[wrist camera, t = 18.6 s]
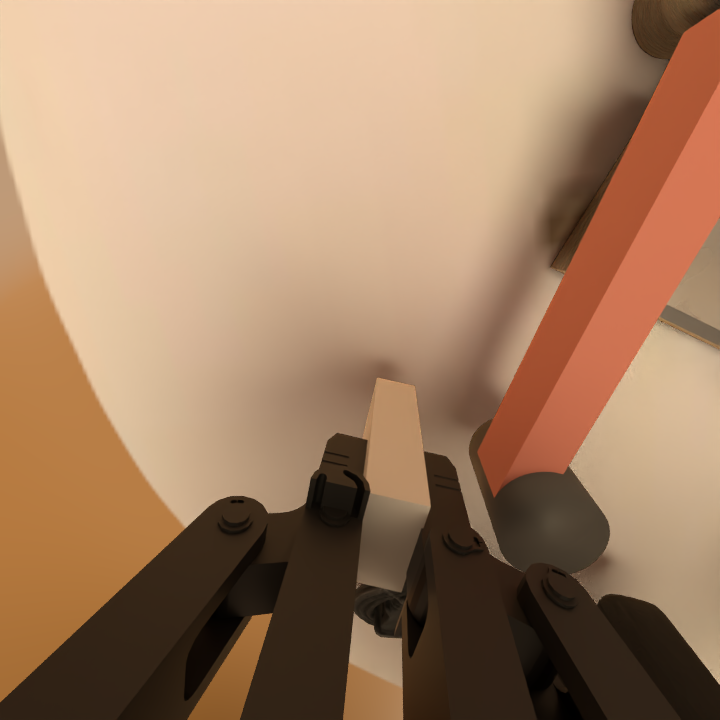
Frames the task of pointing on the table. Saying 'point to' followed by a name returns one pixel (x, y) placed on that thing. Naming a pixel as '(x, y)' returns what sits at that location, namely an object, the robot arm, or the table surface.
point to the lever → (604, 316)
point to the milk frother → (632, 623)
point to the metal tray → (659, 39)
